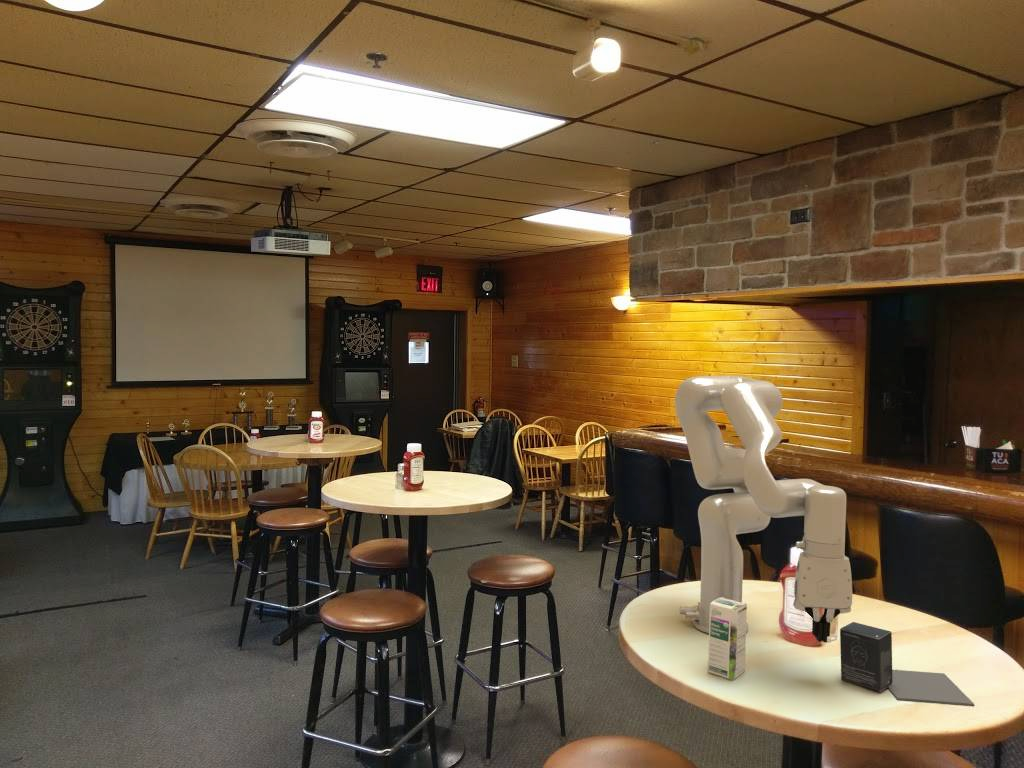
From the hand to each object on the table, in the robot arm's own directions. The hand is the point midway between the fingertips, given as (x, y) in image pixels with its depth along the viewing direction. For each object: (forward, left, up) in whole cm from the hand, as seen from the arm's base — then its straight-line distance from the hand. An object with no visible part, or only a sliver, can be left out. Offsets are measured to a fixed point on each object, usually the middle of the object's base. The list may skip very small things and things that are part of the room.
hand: (820, 639), depth 147 cm
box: (+9, 0, -8) cm, 12 cm away
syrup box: (-18, 0, -9) cm, 20 cm away
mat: (+19, 0, -8) cm, 21 cm away
